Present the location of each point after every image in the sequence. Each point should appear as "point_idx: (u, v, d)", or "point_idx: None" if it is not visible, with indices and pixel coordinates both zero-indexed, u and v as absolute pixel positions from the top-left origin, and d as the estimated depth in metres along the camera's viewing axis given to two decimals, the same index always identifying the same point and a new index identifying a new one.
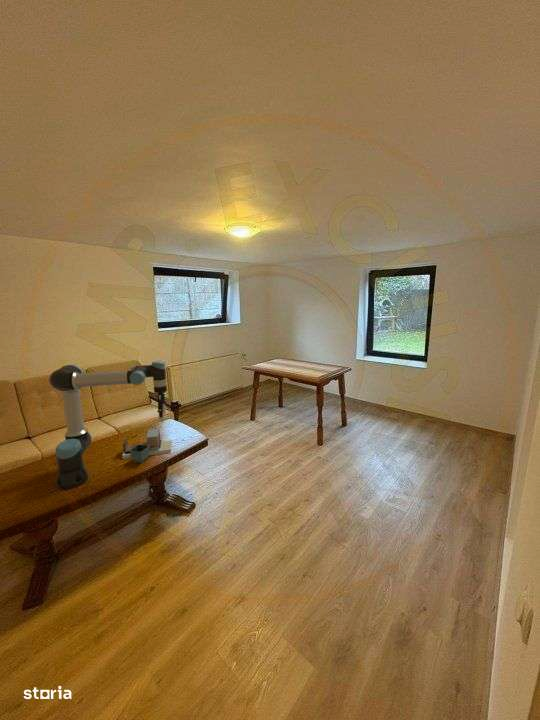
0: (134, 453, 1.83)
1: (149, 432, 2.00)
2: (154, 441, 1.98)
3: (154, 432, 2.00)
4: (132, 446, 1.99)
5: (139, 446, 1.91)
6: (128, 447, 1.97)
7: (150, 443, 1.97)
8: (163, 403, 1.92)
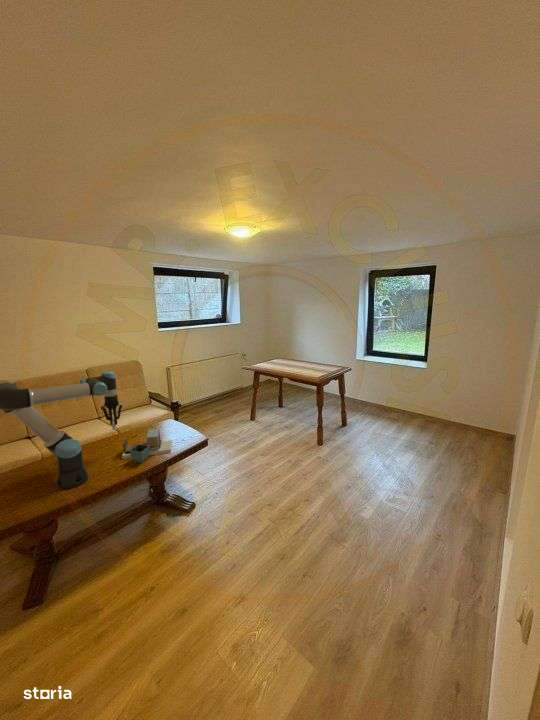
0: (134, 453, 1.83)
1: (149, 432, 2.00)
2: (154, 441, 1.98)
3: (154, 432, 2.00)
4: (132, 446, 1.99)
5: (139, 446, 1.91)
6: (128, 447, 1.97)
7: (150, 443, 1.97)
8: (114, 418, 1.91)
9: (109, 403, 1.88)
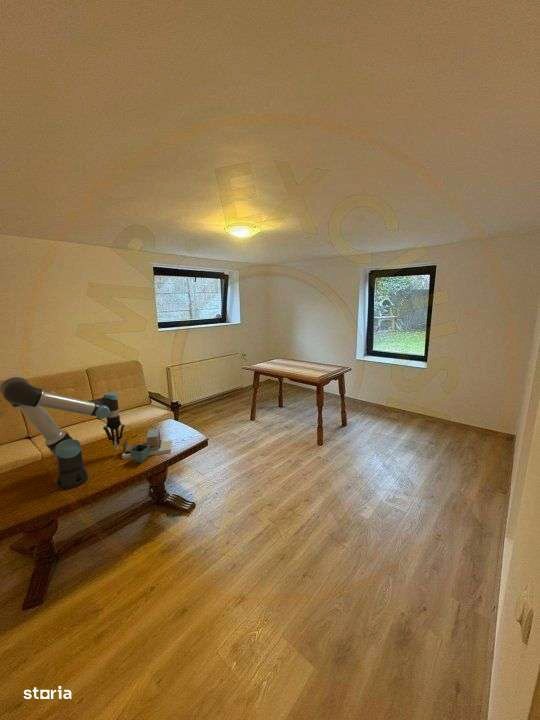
0: (134, 453, 1.83)
1: (149, 432, 2.00)
2: (154, 441, 1.98)
3: (154, 432, 2.00)
4: (132, 446, 1.99)
5: (139, 446, 1.91)
6: (128, 447, 1.97)
7: (150, 443, 1.97)
8: None
9: (111, 424, 1.90)
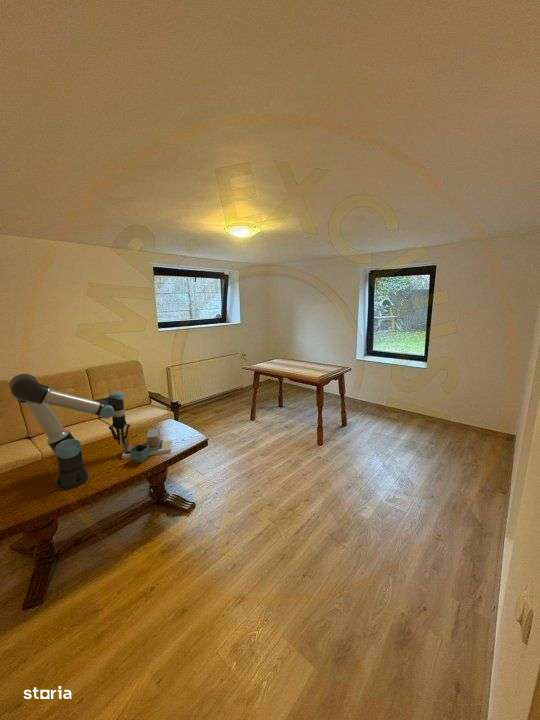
0: (134, 453, 1.83)
1: (149, 432, 2.00)
2: (155, 441, 1.98)
3: (154, 432, 2.00)
4: (133, 446, 1.99)
5: (139, 446, 1.91)
6: (129, 447, 1.98)
7: (151, 443, 1.98)
8: (122, 438, 1.94)
9: (117, 423, 1.91)
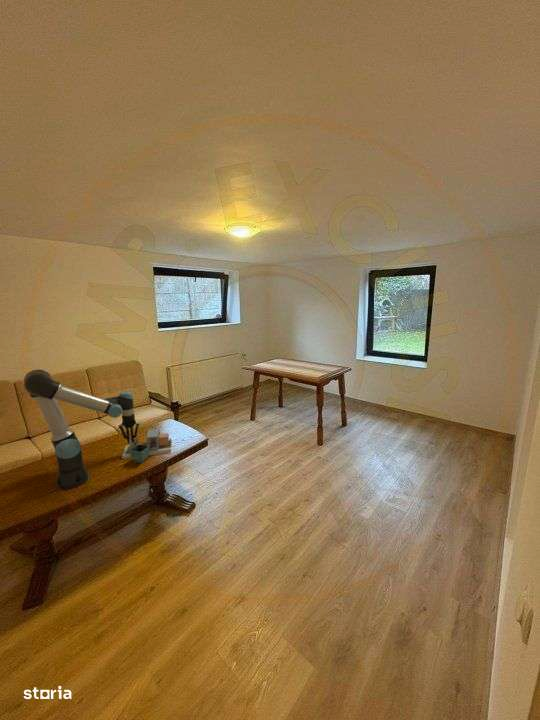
0: (134, 453, 1.83)
1: (149, 432, 2.00)
2: (164, 440, 2.00)
3: (154, 432, 2.00)
4: None
5: (139, 446, 1.91)
6: None
7: (160, 442, 1.99)
8: (131, 437, 1.96)
9: (126, 422, 1.93)
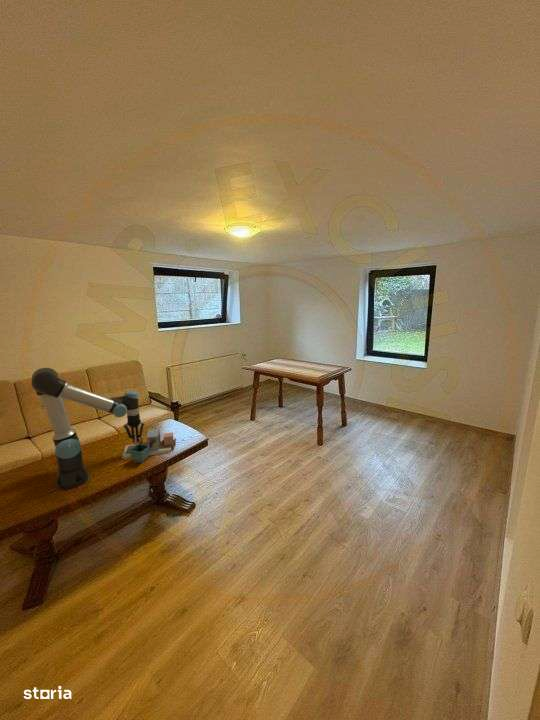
0: (134, 453, 1.83)
1: (149, 432, 2.00)
2: (169, 439, 2.00)
3: (154, 432, 2.00)
4: None
5: (139, 446, 1.91)
6: None
7: (165, 441, 2.00)
8: None
9: (132, 422, 1.93)
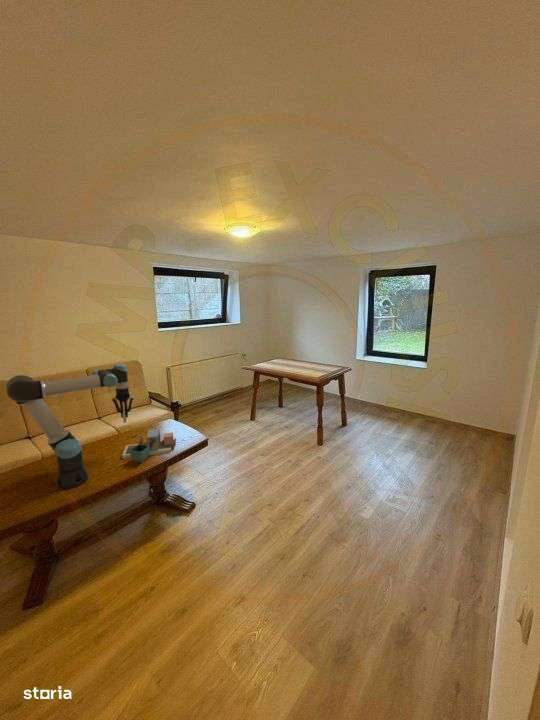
0: (134, 453, 1.83)
1: (149, 432, 2.00)
2: (169, 439, 2.00)
3: (154, 432, 2.00)
4: None
5: (139, 446, 1.91)
6: None
7: (165, 441, 2.00)
8: (125, 411, 1.92)
9: (120, 395, 1.89)
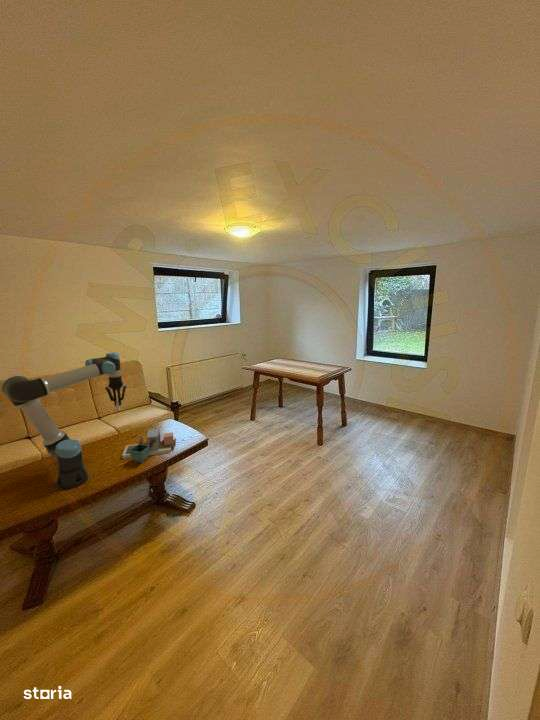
0: (134, 453, 1.83)
1: (149, 432, 2.00)
2: (169, 439, 2.00)
3: (154, 432, 2.00)
4: None
5: (139, 446, 1.91)
6: None
7: (165, 441, 2.00)
8: (118, 399, 1.94)
9: (113, 384, 1.91)
